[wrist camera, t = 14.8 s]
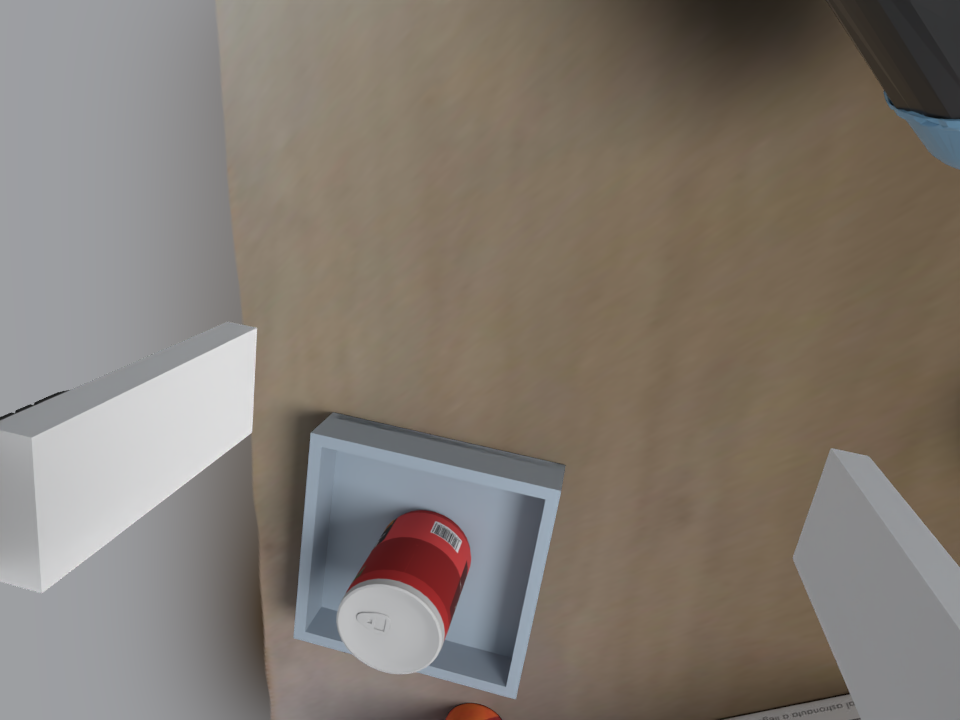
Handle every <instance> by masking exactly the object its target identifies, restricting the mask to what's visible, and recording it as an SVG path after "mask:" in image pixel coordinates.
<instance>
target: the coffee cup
mask: <svg viewBox="0 0 960 720" xmlns="http://www.w3.org/2000/svg"><path fill="white" fill-rule="evenodd" d="M446 720H502V719H501V718H500V716H499V715H498V714H497V713H495V712H494V711H493V710H491V709H490V708H488V707H486V706H483V705H480V704H475V703H466V704H461V705H459V706H456V707H455V708H453V709H452V710H451V711H450V712H449V714H448V716H447V718H446Z"/></svg>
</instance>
